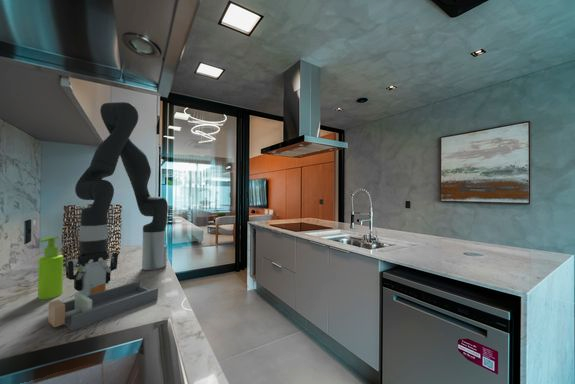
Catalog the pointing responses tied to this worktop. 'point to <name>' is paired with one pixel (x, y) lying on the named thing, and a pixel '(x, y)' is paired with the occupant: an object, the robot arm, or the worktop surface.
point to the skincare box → (93, 278)
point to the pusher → (58, 311)
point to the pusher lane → (110, 304)
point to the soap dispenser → (50, 271)
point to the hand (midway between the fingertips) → (92, 286)
